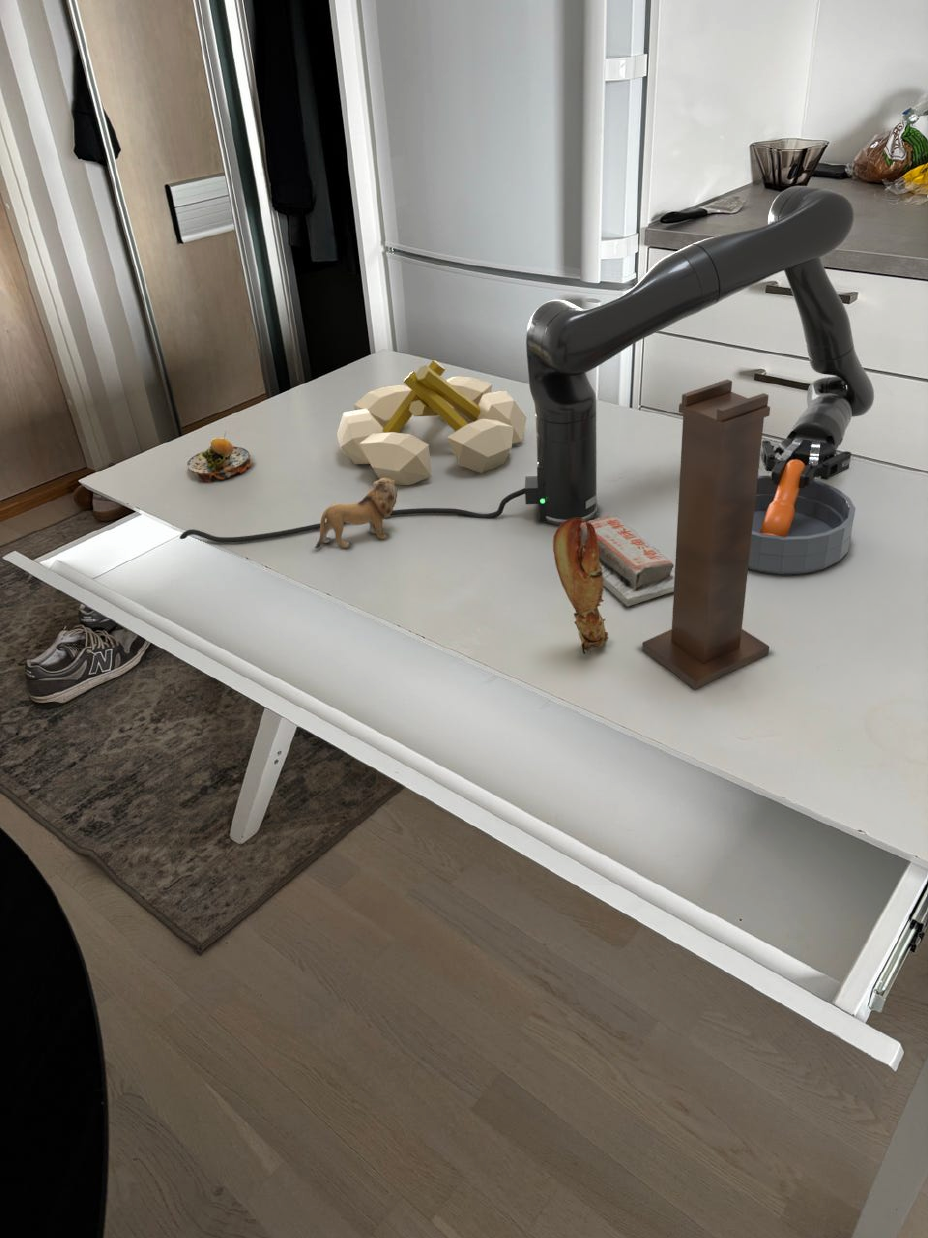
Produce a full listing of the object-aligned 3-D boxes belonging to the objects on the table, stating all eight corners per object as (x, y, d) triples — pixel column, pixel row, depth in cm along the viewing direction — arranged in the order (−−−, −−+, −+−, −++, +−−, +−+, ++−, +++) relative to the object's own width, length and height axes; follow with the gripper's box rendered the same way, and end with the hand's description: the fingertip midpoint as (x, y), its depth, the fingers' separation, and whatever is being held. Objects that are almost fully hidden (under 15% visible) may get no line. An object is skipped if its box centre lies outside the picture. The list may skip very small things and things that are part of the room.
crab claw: (552, 648, 123) (547, 512, 112) (576, 630, 126) (573, 495, 115) (596, 667, 119) (595, 528, 108) (619, 648, 122) (621, 510, 111)
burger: (217, 451, 185) (208, 414, 181) (264, 459, 180) (256, 422, 176) (175, 477, 177) (165, 439, 172) (224, 486, 172) (214, 448, 167)
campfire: (355, 501, 162) (339, 407, 153) (331, 428, 190) (317, 344, 180) (549, 465, 168) (546, 372, 158) (499, 399, 195) (493, 316, 186)
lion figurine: (395, 519, 156) (388, 469, 151) (407, 532, 152) (401, 482, 147) (310, 544, 151) (300, 494, 146) (321, 559, 147) (311, 507, 142)
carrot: (778, 571, 135) (776, 557, 132) (751, 566, 137) (749, 553, 134) (811, 470, 141) (810, 455, 138) (785, 467, 143) (784, 452, 140)
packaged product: (564, 523, 140) (622, 506, 143) (564, 551, 143) (622, 534, 146) (627, 579, 126) (691, 560, 129) (626, 609, 129) (689, 589, 132)
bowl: (719, 578, 134) (723, 541, 130) (702, 511, 150) (704, 477, 146) (864, 574, 131) (871, 537, 128) (830, 507, 148) (836, 472, 144)
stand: (695, 689, 114) (714, 423, 95) (641, 649, 121) (650, 395, 102) (768, 654, 119) (801, 393, 99) (713, 617, 126) (733, 368, 107)
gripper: (774, 406, 150) (743, 449, 138) (867, 417, 144) (843, 464, 132) (769, 450, 155) (738, 495, 143) (860, 462, 148) (836, 511, 136)
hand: (789, 480), depth 138 cm, fingers closed on carrot, 3 cm apart
